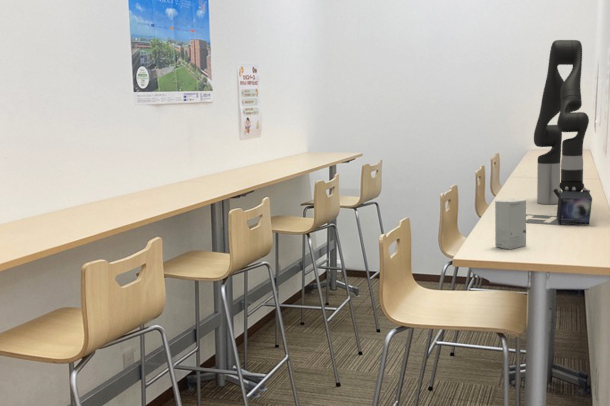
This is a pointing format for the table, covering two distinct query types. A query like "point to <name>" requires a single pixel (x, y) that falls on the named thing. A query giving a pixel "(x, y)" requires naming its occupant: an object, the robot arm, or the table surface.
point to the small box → (574, 207)
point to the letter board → (542, 219)
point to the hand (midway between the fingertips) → (571, 214)
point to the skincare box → (510, 223)
